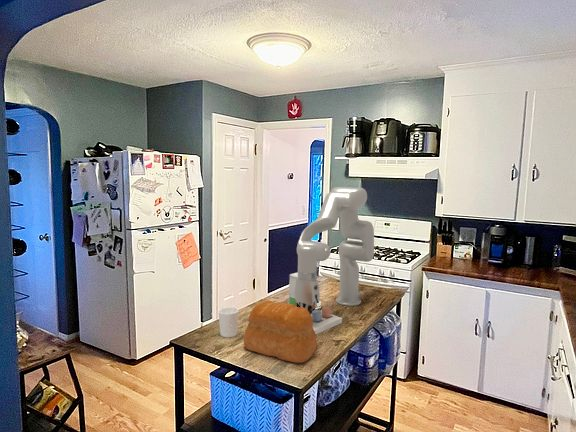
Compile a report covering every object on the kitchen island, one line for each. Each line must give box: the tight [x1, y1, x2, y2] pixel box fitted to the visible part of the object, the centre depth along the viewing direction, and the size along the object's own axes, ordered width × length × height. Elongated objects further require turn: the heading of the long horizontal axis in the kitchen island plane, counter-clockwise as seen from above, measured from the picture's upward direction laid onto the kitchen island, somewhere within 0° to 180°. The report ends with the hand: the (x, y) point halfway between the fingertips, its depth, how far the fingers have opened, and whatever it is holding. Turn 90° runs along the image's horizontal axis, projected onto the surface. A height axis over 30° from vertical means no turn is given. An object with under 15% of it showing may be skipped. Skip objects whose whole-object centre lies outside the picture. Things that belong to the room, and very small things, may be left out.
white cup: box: [218, 306, 239, 338], centre depth 157 cm, size 8×8×10 cm
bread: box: [243, 300, 318, 364], centre depth 144 cm, size 16×26×17 cm, turn 61°
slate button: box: [311, 309, 322, 323], centre depth 163 cm, size 4×4×4 cm
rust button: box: [321, 306, 332, 319], centre depth 168 cm, size 4×4×4 cm
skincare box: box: [287, 271, 298, 306], centre depth 190 cm, size 8×7×16 cm
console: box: [310, 310, 343, 335], centre depth 164 cm, size 20×12×4 cm, turn 136°
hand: (306, 319), depth 159 cm, fingers closed
